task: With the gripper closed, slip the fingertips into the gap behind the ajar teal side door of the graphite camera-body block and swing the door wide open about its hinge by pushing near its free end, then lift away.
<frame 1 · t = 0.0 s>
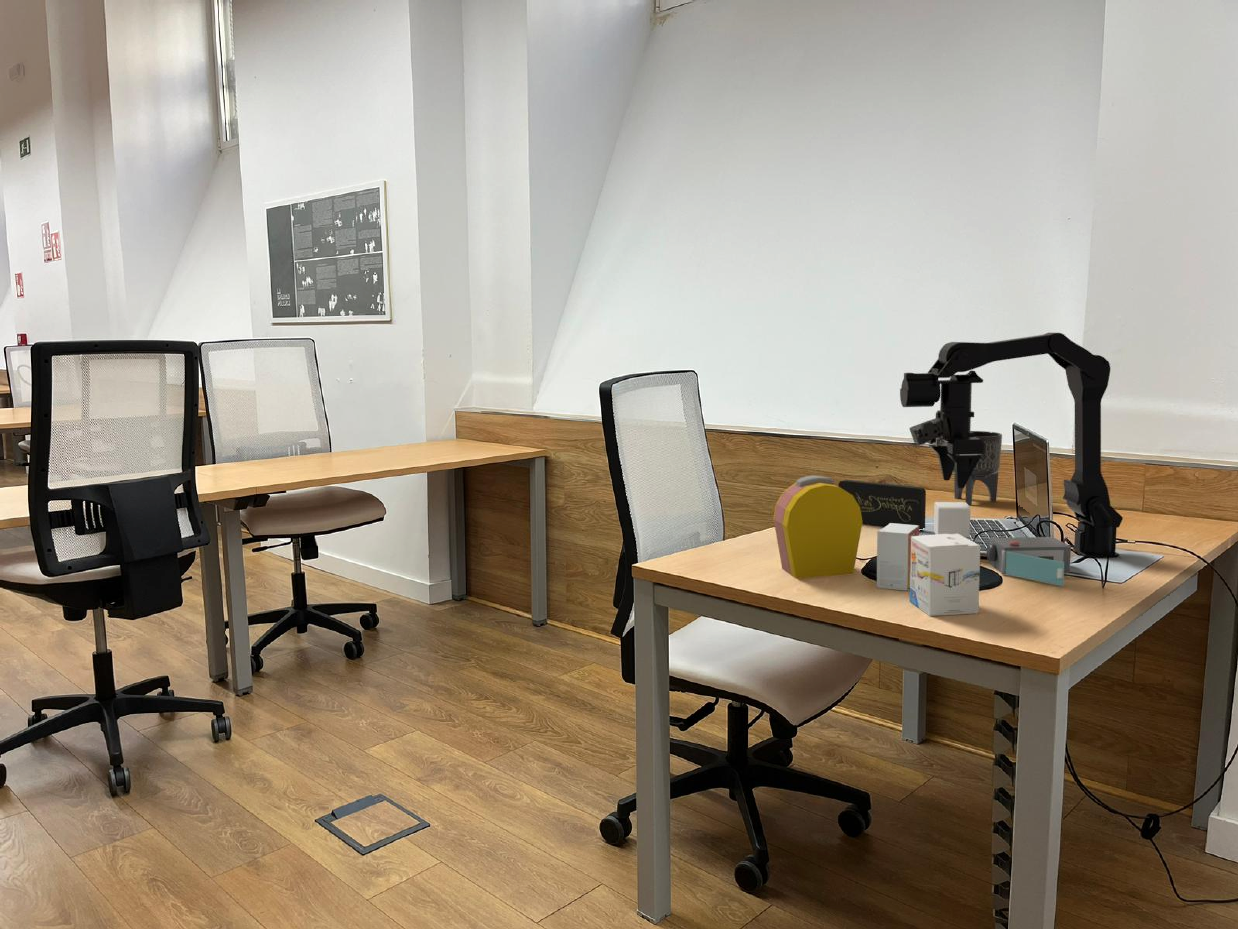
hand: (953, 484, 184), 15 cm above the table, fingers open, 9 cm apart
ink box: (943, 609, 153), on the table
planter: (973, 502, 240), on the table
small box: (897, 585, 167), on the table
yellow arched block: (816, 572, 178), on the table
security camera: (948, 553, 189), on the table
nameplate: (880, 527, 215), on the table
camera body: (1028, 567, 176), on the table
side door: (1031, 568, 167), point 2 cm above the table, hinge at 50.0°
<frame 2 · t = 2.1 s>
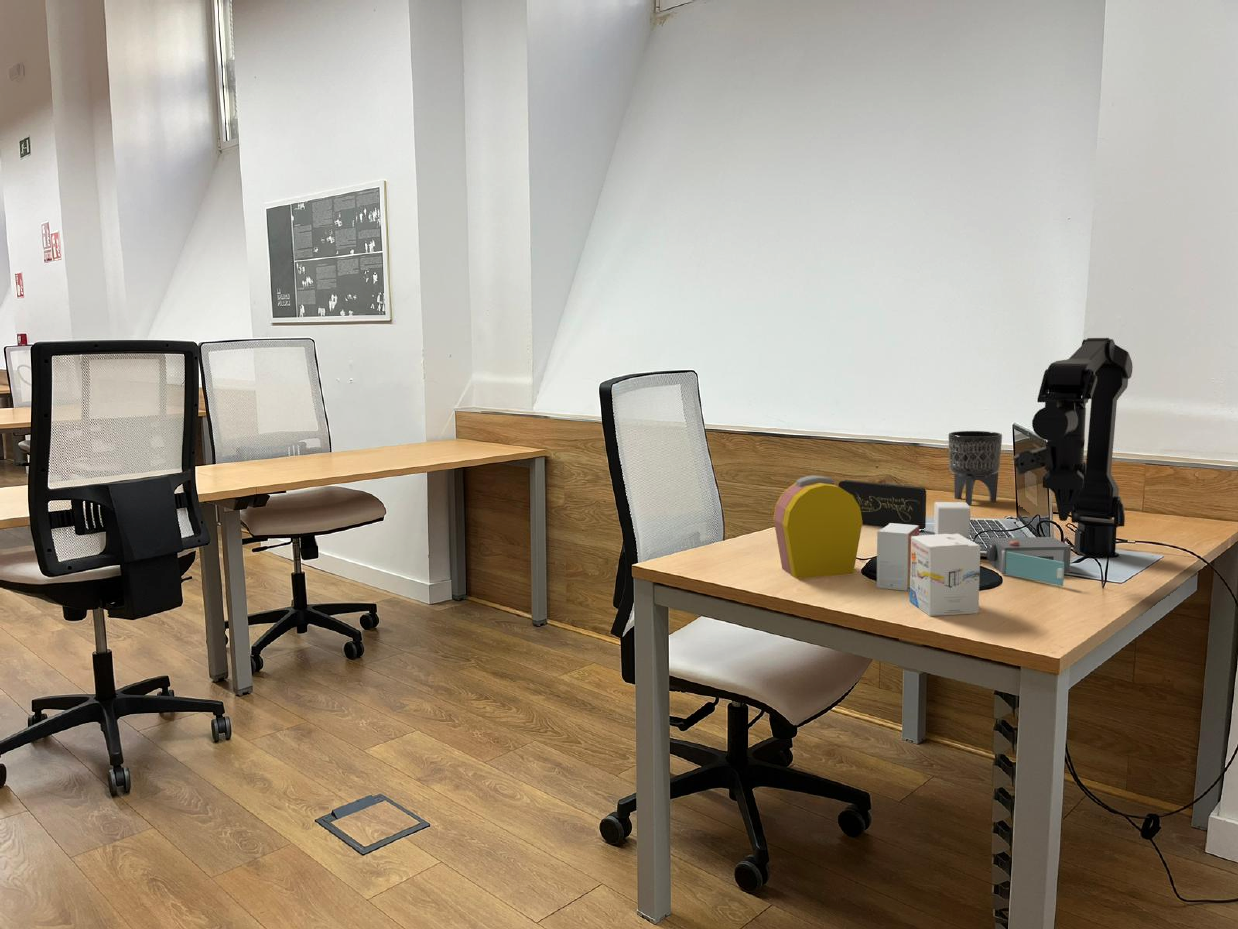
hand: (1062, 520, 165), 11 cm above the table, fingers closed
nothing on the table moved.
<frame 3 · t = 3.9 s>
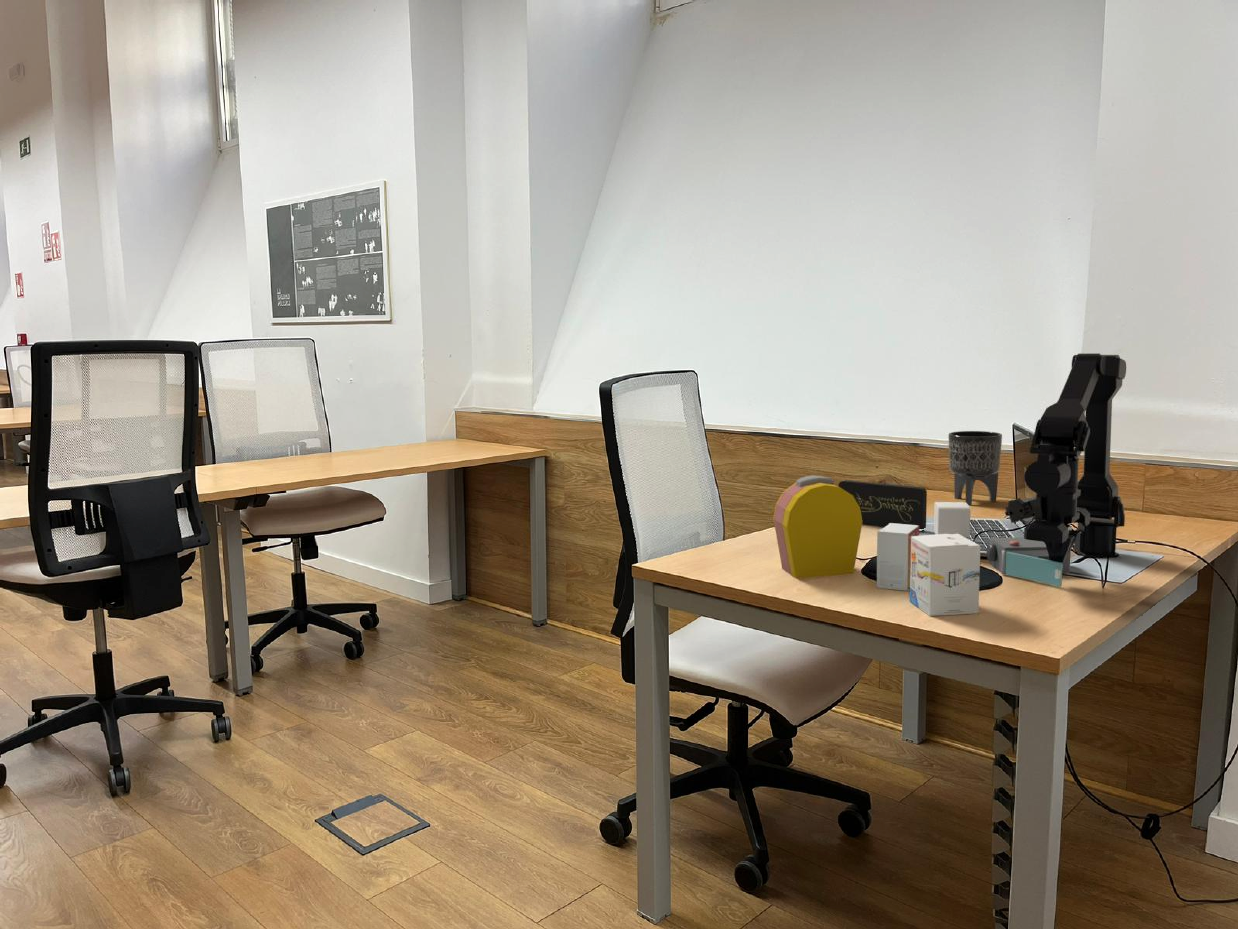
hand: (1056, 571, 164), 2 cm above the table, fingers closed
side door: (1030, 568, 166), point 2 cm above the table, hinge at 53.1°, touching gripper
everything else where it was.
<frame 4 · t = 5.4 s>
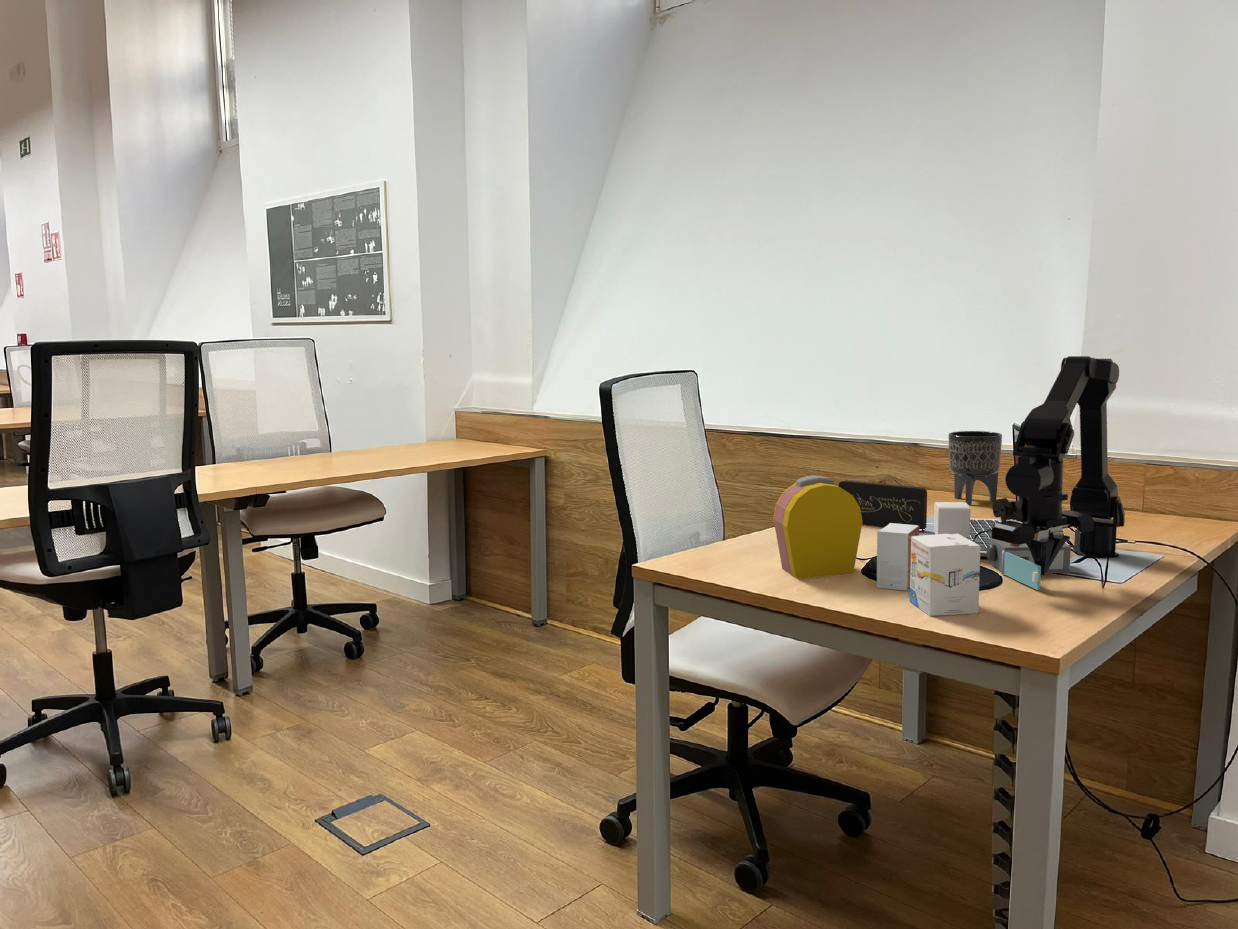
hand: (1041, 574, 162), 2 cm above the table, fingers closed
side door: (1019, 569, 166), point 2 cm above the table, hinge at 79.2°, touching gripper
everything else where it was.
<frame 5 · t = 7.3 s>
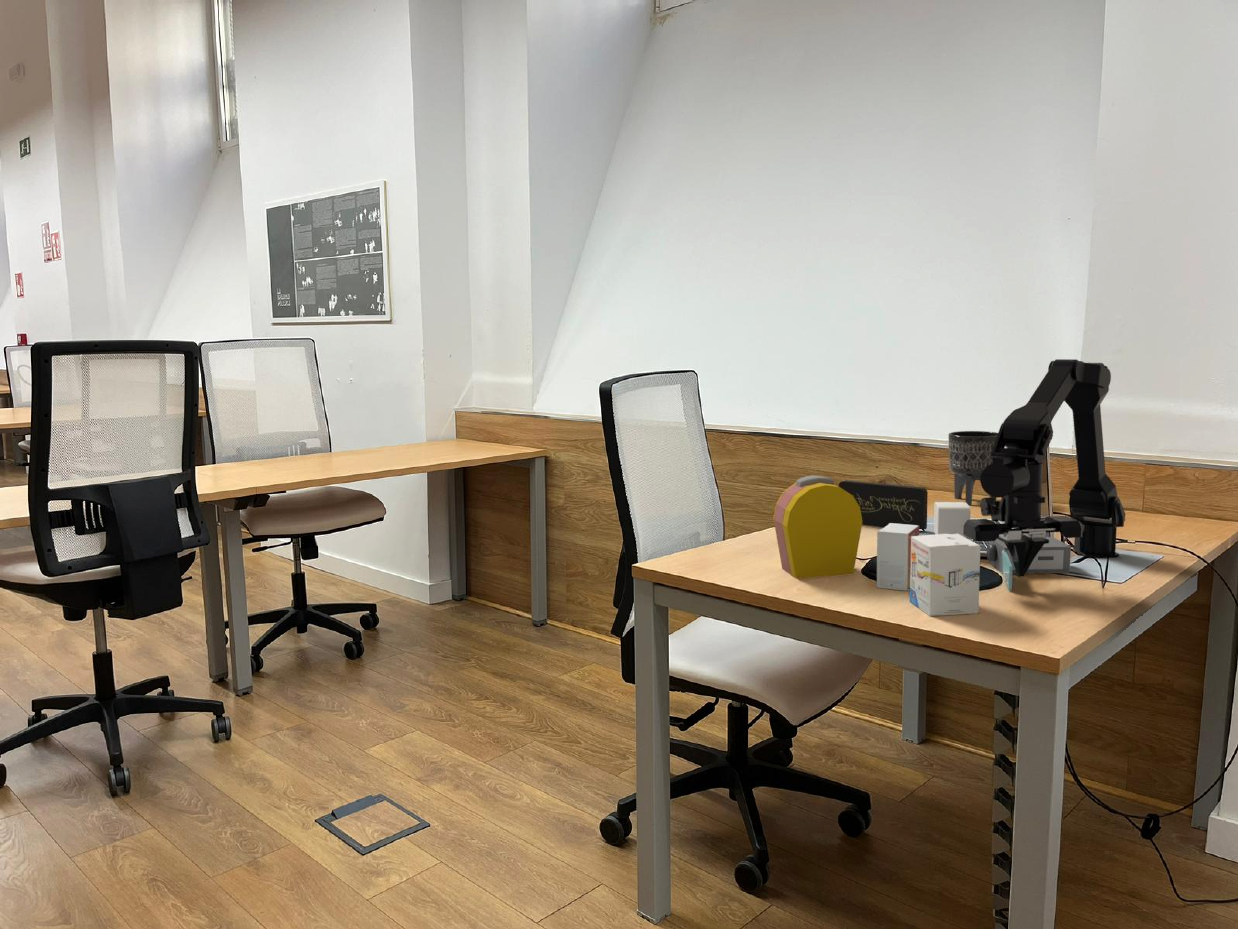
hand: (1020, 576, 162), 2 cm above the table, fingers closed
side door: (1005, 569, 166), point 2 cm above the table, hinge at 104.3°, touching gripper
everything else where it was.
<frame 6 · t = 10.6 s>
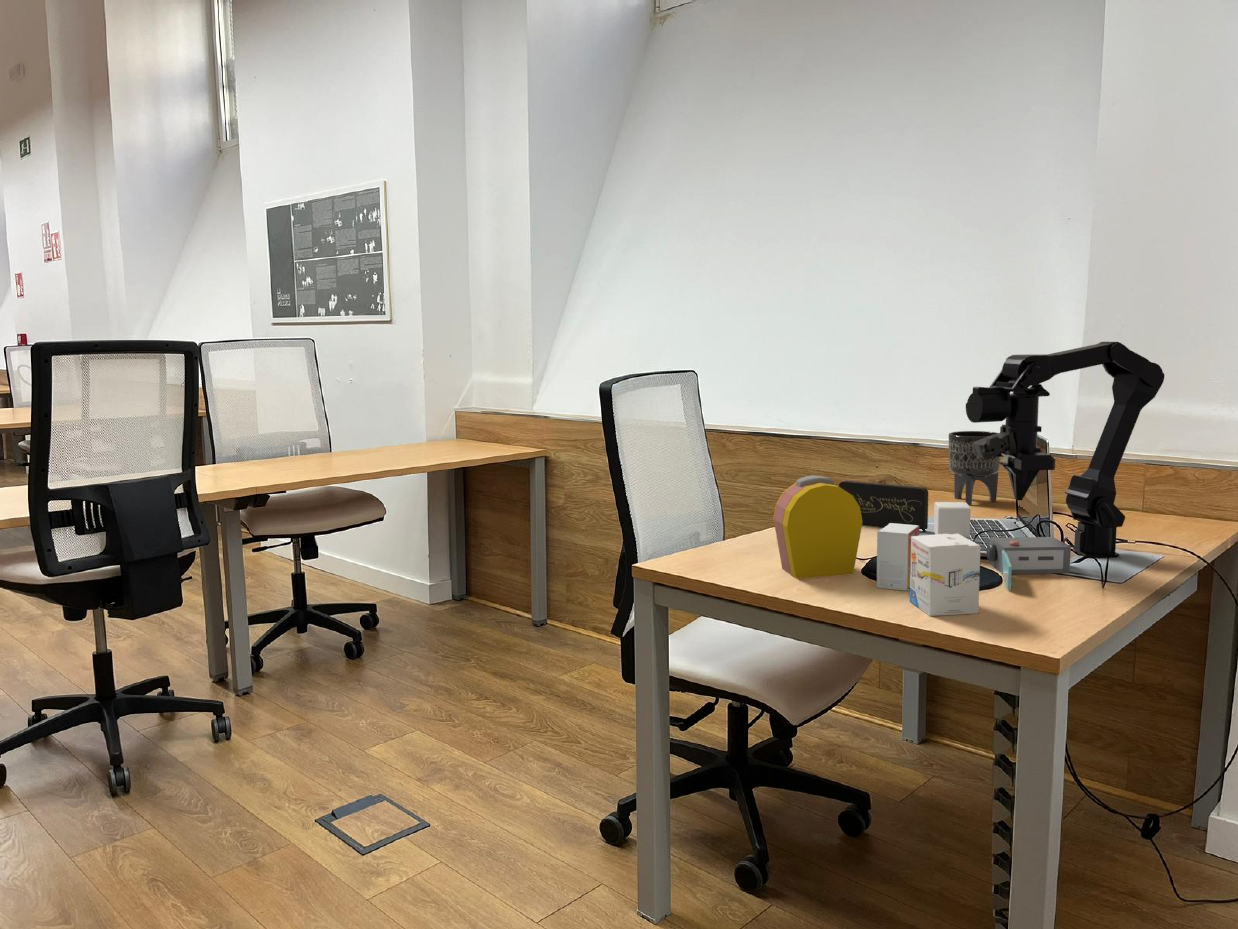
hand: (1018, 500, 180), 12 cm above the table, fingers closed
side door: (1005, 569, 166), point 2 cm above the table, hinge at 105.0°
everything else where it was.
at the end: side door at +105° (first picture: +50°); side door touching nothing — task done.
